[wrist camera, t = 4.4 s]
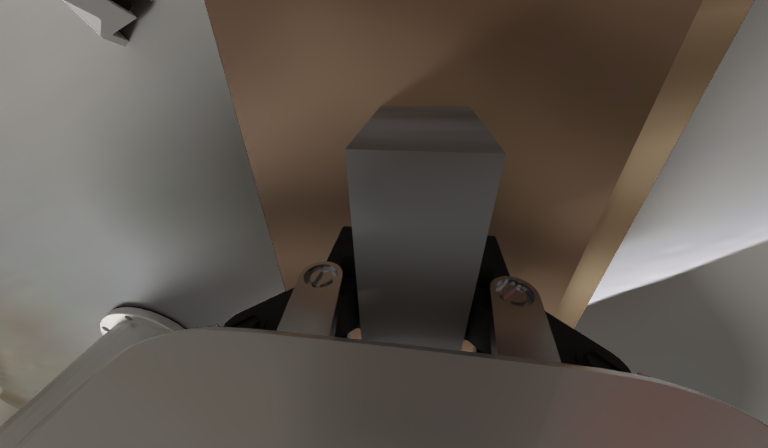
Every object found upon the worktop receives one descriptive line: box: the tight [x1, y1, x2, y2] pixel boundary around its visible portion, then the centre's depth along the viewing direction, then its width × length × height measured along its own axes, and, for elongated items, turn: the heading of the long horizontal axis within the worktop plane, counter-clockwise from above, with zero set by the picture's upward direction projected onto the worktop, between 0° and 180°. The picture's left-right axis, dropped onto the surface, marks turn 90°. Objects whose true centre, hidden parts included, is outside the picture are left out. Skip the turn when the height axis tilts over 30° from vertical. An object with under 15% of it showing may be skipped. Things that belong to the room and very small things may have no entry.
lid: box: [204, 0, 703, 352], centre depth 10 cm, size 18×14×6 cm
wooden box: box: [554, 0, 754, 329], centre depth 16 cm, size 18×14×7 cm
